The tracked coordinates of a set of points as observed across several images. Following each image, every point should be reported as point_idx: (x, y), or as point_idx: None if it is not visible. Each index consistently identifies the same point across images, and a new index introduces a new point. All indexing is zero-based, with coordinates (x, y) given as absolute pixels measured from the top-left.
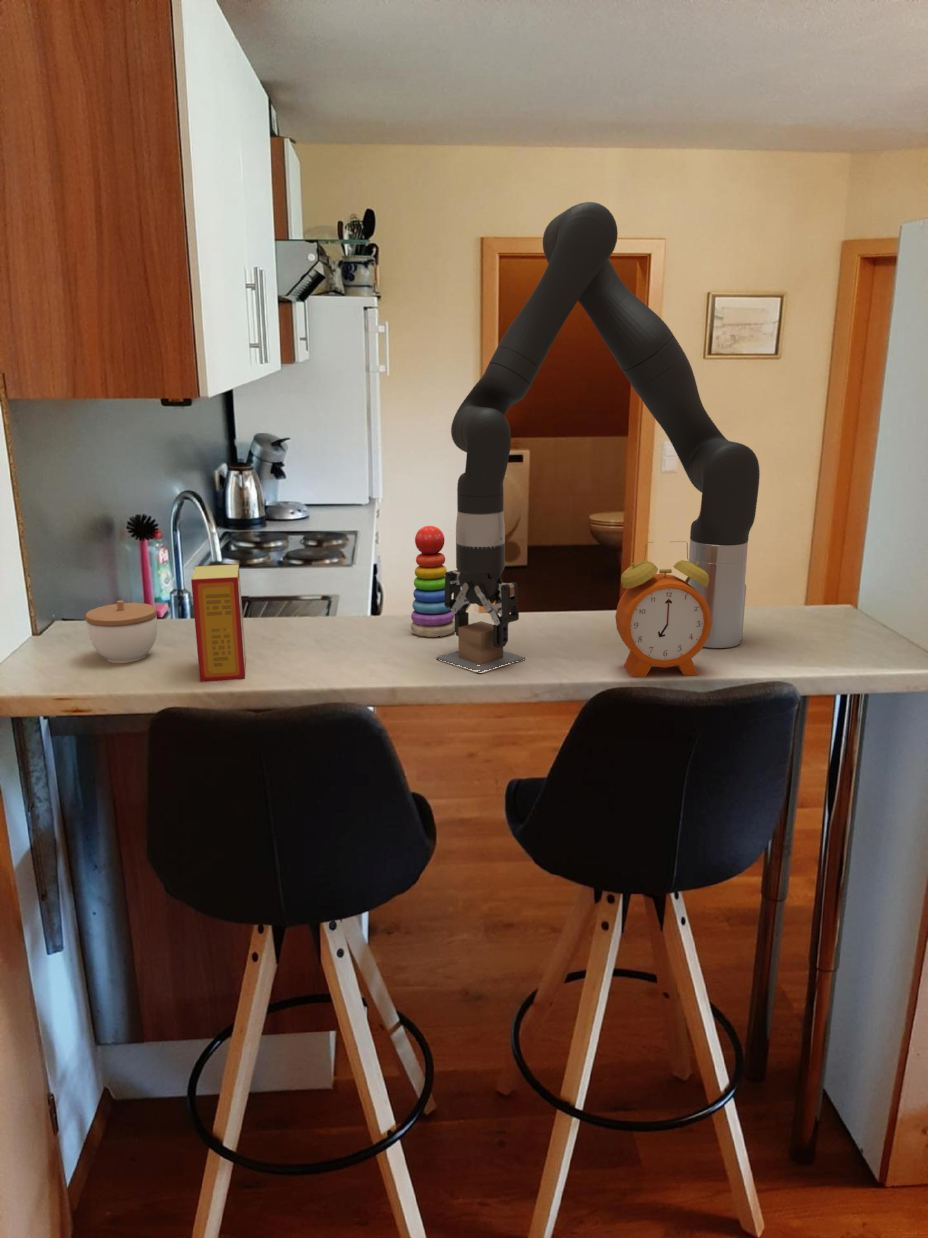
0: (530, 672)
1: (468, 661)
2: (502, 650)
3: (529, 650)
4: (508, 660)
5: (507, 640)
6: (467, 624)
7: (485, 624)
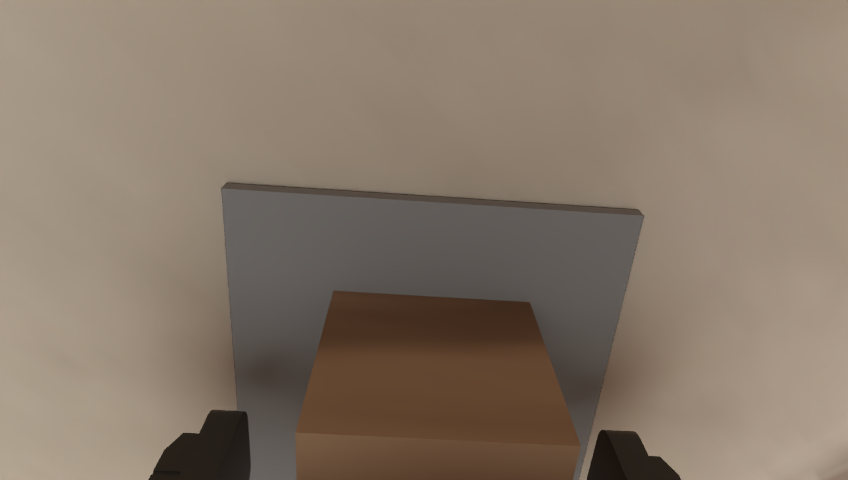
0: (772, 346)
1: None
2: (537, 333)
3: (545, 15)
4: (588, 320)
5: (676, 477)
6: (223, 474)
7: (400, 474)
